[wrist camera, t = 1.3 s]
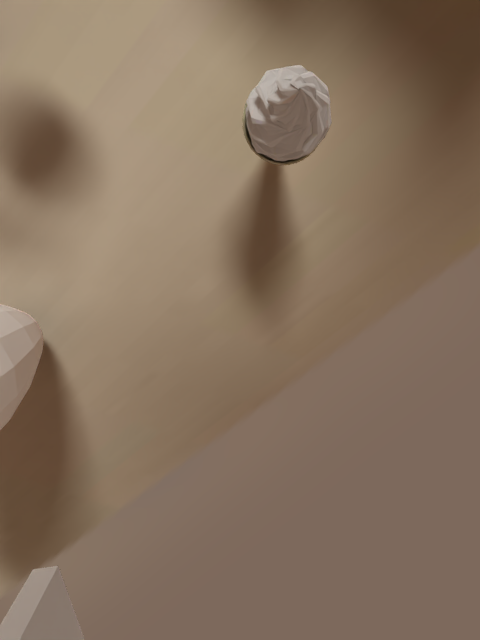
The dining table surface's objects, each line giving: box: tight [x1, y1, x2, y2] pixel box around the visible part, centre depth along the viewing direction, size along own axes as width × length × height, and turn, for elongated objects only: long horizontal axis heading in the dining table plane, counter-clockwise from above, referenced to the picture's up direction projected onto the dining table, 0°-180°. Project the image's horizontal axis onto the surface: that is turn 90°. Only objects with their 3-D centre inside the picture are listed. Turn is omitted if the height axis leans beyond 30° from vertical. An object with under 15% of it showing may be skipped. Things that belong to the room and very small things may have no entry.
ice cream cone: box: [242, 65, 331, 165], centre depth 26 cm, size 5×5×15 cm
